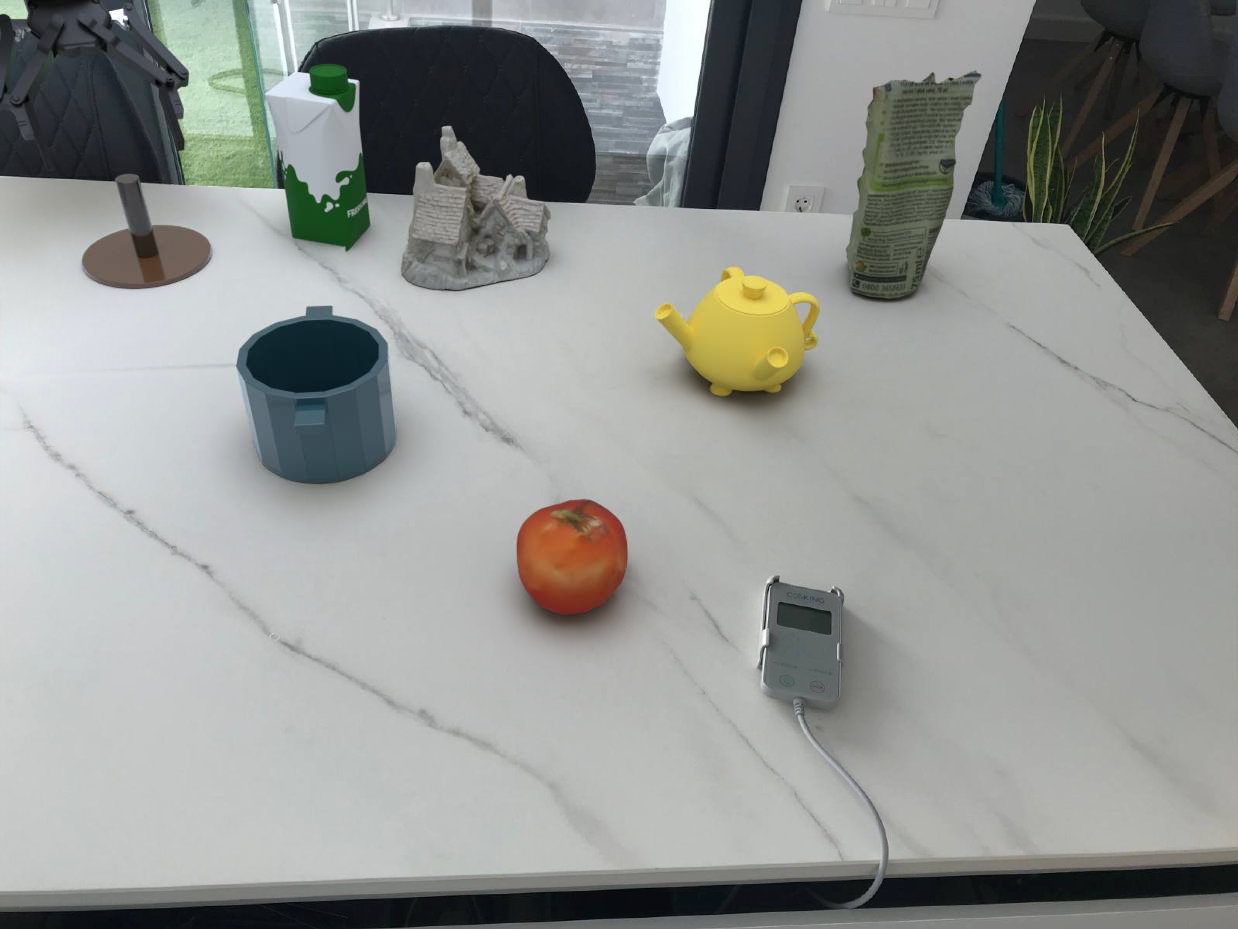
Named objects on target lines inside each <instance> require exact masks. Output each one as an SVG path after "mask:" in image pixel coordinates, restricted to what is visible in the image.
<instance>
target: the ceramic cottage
mask: <svg viewBox="0 0 1238 929" xmlns="http://www.w3.org/2000/svg"><path fill="white" fill-rule="evenodd" d="M439 147H440V152H441V162H440V164H439V166H438V168H437V170H436V171H435V172H434V170H433V166H432V165H431V163H430V162H429V161H427V162H425V161H422V162H418V164H416V166H415V177H414V178H415V179H414V185H413V187H412V194H413V195H412V196H413V210H412V219H411V221H410V223H409V226H408V235H407V236H408V237H407V240H406V241H407V243H406V246H405V249H404V251H403V253H402V258H401V268H400V270H401V275H402V277H404V278H405V280H406V281H407V282H408V283H411V284H412V285H414V286H418V287H422V288H425V289H427V288H428V289H431V290H443V291H444V290H445V289H446V290H453V291H454V290H455V291H460V290H465V289H469V288H471V289H472V288H473V287H481V286H485V285H490V284H495V283H499V282H500V283H501V281H503V282H505V281H508V280H510V281H511V280H514V279H515V280H516V279H523V278H528V277H530V276H532V275H535V274H538V273H539V272H540V271H541V270H542V269H543V268H544V266H545V262H546V261H548V259H549V257H550V255H551V252H550V247H549V242H548V240H546V234H548V232H549V230H548V221H550V220H551V219H552V218H551V216H552V215H551V211H550V209H549V208H548V206H547V205H546V202H545V201H541V200H534V199H529V198H528V195H527V189H526V180H525V177H524V176H523V175H516V176H515V177H513V175H512V174H510V173H509V174H508V175H506V178H505V180H504V179H503V178H502V177H498V176H490V175H482V174H481V173H480V171H481V168H480V167H479V165H478V164H477V163H476V161H475V159H474V158H473V157H472V156H471V155H470V153H469V150H467V147H466V145H465V144H464V143H463V142H462V141H461V140H460V141H458V139H457V137H456V135H455V132H454V130H453V127H452V125H446V126H442V127H441V137H440V146H439Z"/></svg>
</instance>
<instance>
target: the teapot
mask: <svg viewBox="0 0 1238 929" xmlns="http://www.w3.org/2000/svg"><path fill="white" fill-rule="evenodd" d="M801 303H802V304H803V303H805V304H809V305H810V307H809V311H808V313H807V316H806V318H805V319H804V321H803V323H802V321H801V318H800V316H799V313H798V311H797V308H796V307H795V305H797V304H801ZM819 314H820V303H819V301H818V299H817V298H815V296H813V295H812V294H810V293H808V292H804V291H798V292H794V293H790V294H788V293H787V291H786V290H785V289H784V288H783V287H782V286H780V285H778V284H777V283H775V282H773V281H771V280H769V279H766V278H763V277H762V276H759V275H745V273H744V271H743V270H742V269H741V268H740V267H738V266H728V267H726V268H724V269H723V271H722V273H721V276H720V282H719V283H717V284H716V285H715V286H714V287H713V288H712V289H711V290H710V291H709V292H708V293H707V294H706V295H705V296H704V297H703V298H702V299H701V300H700V301H699V302H698V304H697V305H696V306H695V308H694V309H693V311H692V312H691V314H690V316H689V318H688V320H687V322H686V320H685V319H684V318H683V316H682V315H681V314H680V313H679V311H678V310H677V309H676V307H675V306H674V305H673V304H672V303H670V302H665V303H662V304H660V305H659V306H658V307H657V308H656V309H655V312H654V317H655V319H656V320H657V321H658V322H659V323H660V324H661V325H662V327H663V328H665V330H666V331H667V332H668V333H669V334H670V335H671V336H672V337H673V338H674V340H676V341H677V342H678V343H679V345H680V346H681V347H682V350H683V352H684V356H685V357H686V359H687V361H688V362H689V363H690V365H691V366H692V367H693V369H694V370H696V372H697V373H698V374H699V375H701V376H702V377H703V378H704V379H705V380H707V381H709V382H711V385H710V387H709V390H710V392H711V393H712V394H713V395H716V396H718V397H727V396H729V395H730V394H732V392H733V390H734V391H740V392H741V391H742V392H759V391H764V392H767V393H778V392H780V391H781V389H782V386H781V384H782V383H785V382H786V381H787V380H789V379H790V378H792V377H793V376H794V375H796V373H797V372H798V371H799V369H800V368H801V366H802V365H803V361H804V357H805V351H810V350H813V349H814V348H816V346H817V344H818V343H819V342H818V339H819V338H818V334H817V333H816V332H815V331H814V330H812V329H813V328H814V326H815V325H816V323H817V320H818V317H819Z"/></svg>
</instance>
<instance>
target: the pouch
mask: <svg viewBox="0 0 1238 929" xmlns="http://www.w3.org/2000/svg"><path fill="white" fill-rule="evenodd" d="M982 75H983V74H982V73H980V72H977V69H975V70H972V71H969V72H967V73H965V74H963V75H961V76H959V77H957V78H954V77H947V78H946V79H944V80H943V81H940V82H939V83H938V82H936V74H935V72H934V71H932V72H931V73H930V74H929V75H928V76H927V77H925V78H924V79H923V80H921V81H918V82H917V81H914V80H908V79H902V80H900V79H893V80H889V81H888V82H886V83H883V84H881V85H877V86H873V87H872V100H871V101H870V102H869V104H868V105H867V117H866V121H865V127H866V142H865V147H864V148H863V149H862V153H861V155H862V159H863V164H864V166H863V170H862V174H861V176H859V177H858V178H857V180H856V186H857V190H858V196H859V197H858V208H857V209H856V210H855V212H853V214H852V223H851V230H850V236H849V242H848V244H847V246H846V247H845V252H846V259H847V268H848V269H847V270H848V273H849V281H850V282H849V286H850V288H851V291H852V292H853V293H857V294H860V295H863V296H866V297H870V298H881V299H888V300H890V299H899V298H902V297H905V296H908V295H911V294H913V293H915V292H916V291H918V289H919V287H920V284H921V282H922V280H923V278H924V277H925V273H926V269H927V266H928V263H929V261H930V258H931V254H932V252H933V249H934V247H935V246H936V245H935V244H936V243H937V240H938V237H939V235H940V233H941V230H942V227H943V225H944V221H945V219H946V217H947V211H948V209H949V207H950V204H951V200H952V197H953V191H954V188H955V186H954V185H955V184H954V180H955V178H954V177H955V176H954V174H955V168H956V164H957V159H956V136H957V135H958V134H959V132H960V130H961V128H962V127H961V126H962V121H963V118H964V112H965V110H966V109H967V108H968V107H969V106H971V105H972V103H973V97H974V91H975V86H976V84H977V83H978V82H979V81H980V80H981V78H982Z"/></svg>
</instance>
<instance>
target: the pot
mask: <svg viewBox="0 0 1238 929" xmlns="http://www.w3.org/2000/svg"><path fill="white" fill-rule="evenodd" d="M235 367H236V371H237V376H238V381H239V385H240V391H241V394H242V399H243V403H244V408H245V412H246V415H247V420H248V424H249V429H250V434H251V438H252V442H253V446H254V449H255V451H256V454H257V457H258V458H259V460H260V462H261V463H262V464H263V466H265V468H267V470H268V471H270V472H272V473H273V474H275V475H277V476H279V477H280V478H284V479H286V480H289V481H294V482H299V483H304V484H331V483H336V482H342V481H346V480H350V479H353V478H356V477H358V476H360V475H363V474H366V473H367V472H369V471H371V470H372V469H374V468H376V467H377V466H378V465H379V464H382V462H383V461H385V459H386V458H387V457H388V456H389V455H390V454H391V452H392V451H393V448H394V447H395V444H396V440H397V420H396V419H397V418H396V411H395V410H396V409H395V400H394V391H393V380H392V372H391V370H392V369H391V361H390V351H389V342H388V341H387V340H386V339H385V338H384V337H383V335H382V333H381V332H380V331H379V330H378V329H377V328H375V327H373V326H371V325H369V324H368V323H365V322H363V321H362V320H360V319H357V318H353V317H346V316H342V315H341V316H340V315H335V312H334V306H333V305H311V306H310V305H309V306H308V305H307V306H306V308H305V315H299V316H297V317H293V318H288V319H285V320H280V321H276V322H274V323H271V324H270V325H268V326H266V327H264V328H262V329H260V330H259V331H256V332H254V333H253V334H252V335H251V336H250V337H249V338H248V339H247V340H246V341H245V342H244V343H243V344H242V345H241V347H240V348H239V349H238V353H237V359H236V363H235Z"/></svg>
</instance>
